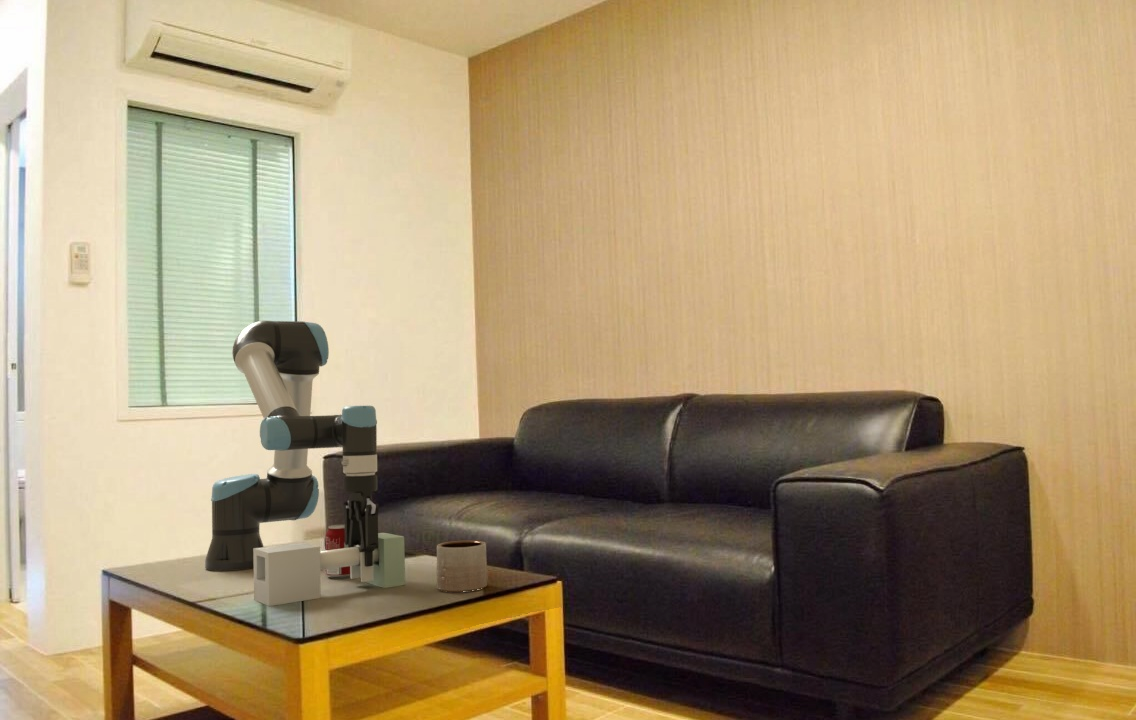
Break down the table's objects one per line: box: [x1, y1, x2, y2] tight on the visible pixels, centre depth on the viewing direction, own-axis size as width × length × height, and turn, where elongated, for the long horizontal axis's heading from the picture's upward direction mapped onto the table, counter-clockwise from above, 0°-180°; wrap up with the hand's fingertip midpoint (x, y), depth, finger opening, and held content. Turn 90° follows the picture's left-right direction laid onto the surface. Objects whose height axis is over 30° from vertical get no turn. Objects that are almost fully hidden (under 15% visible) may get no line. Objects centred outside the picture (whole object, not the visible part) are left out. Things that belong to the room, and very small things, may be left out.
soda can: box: [325, 524, 350, 580], centre depth 211 cm, size 7×7×12 cm
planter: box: [436, 540, 488, 593], centre depth 193 cm, size 11×11×10 cm
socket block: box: [365, 532, 406, 589], centre depth 201 cm, size 10×5×11 cm, turn 38°
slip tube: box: [320, 544, 379, 571], centre depth 195 cm, size 5×20×5 cm, turn 128°
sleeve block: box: [253, 542, 322, 607], centre depth 187 cm, size 9×11×11 cm
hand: (361, 579), depth 197 cm, fingers closed on slip tube, 5 cm apart
